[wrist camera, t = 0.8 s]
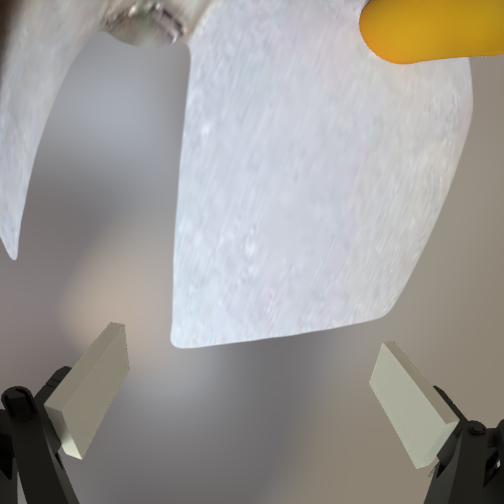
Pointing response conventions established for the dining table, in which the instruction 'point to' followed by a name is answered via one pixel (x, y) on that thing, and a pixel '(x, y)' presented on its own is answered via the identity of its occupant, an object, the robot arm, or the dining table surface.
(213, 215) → the dining table surface
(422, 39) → the beer bottle
